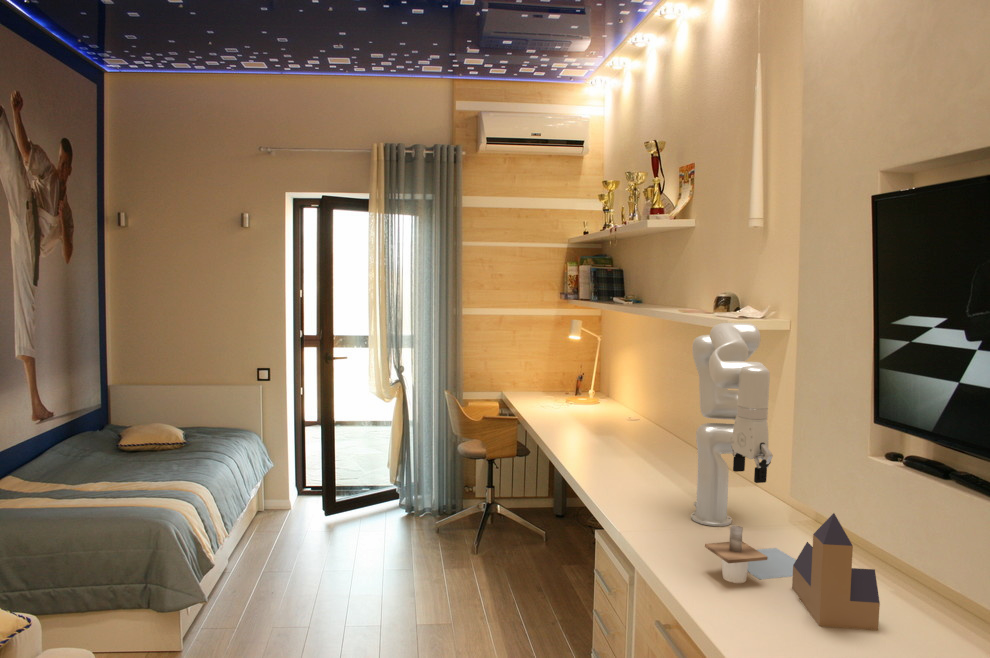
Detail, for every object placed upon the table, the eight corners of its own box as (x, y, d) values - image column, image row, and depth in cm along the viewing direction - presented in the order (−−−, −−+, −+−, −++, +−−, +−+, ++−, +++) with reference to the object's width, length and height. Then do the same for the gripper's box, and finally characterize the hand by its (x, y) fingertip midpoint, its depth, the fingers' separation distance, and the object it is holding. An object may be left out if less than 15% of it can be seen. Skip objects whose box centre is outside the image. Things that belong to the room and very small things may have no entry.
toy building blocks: (819, 626, 153) (824, 516, 151) (792, 589, 171) (796, 491, 170) (878, 630, 151) (884, 519, 150) (844, 592, 170) (849, 494, 168)
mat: (720, 554, 193) (720, 552, 193) (775, 549, 198) (775, 547, 198) (759, 580, 176) (759, 579, 176) (819, 574, 180) (819, 573, 180)
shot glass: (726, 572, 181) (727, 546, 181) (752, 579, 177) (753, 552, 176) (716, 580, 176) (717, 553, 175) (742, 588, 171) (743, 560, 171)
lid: (704, 546, 180) (705, 521, 180) (741, 543, 183) (742, 518, 182) (728, 563, 169) (729, 536, 169) (767, 559, 172) (768, 533, 172)
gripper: (721, 406, 187) (718, 467, 189) (759, 421, 170) (755, 487, 172) (746, 405, 189) (743, 466, 190) (785, 420, 172) (782, 486, 174)
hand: (749, 476), depth 181 cm, fingers open, 9 cm apart
